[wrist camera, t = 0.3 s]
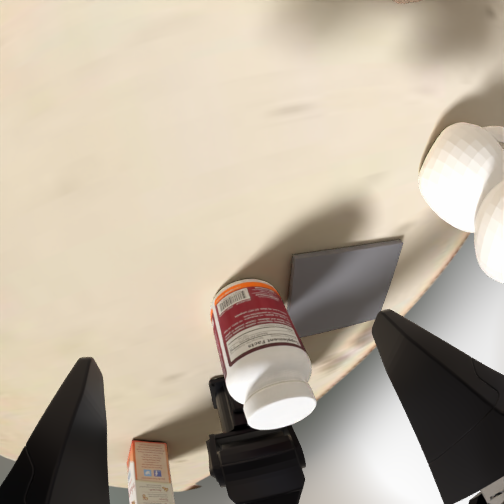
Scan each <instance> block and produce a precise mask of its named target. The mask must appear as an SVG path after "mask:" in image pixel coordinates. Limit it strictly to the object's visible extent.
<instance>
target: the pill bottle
mask: <svg viewBox="0 0 504 504" xmlns="http://www.w3.org/2000/svg"><path fill="white" fill-rule="evenodd" d="M210 315H211V322H212V326H213V331H214V335H215V340H216V344H217V349H218V353H219V357H220V361H221V366H222V370H223V374H224V378H225V383H226V386H227V389H228V392H229V394H230V395H231V396H232V397H233V398H234V399H235V400H236V401H237V402H239V403H241V404H244V407H243V410H244V413H245V416H246V419H247V423H248V425H249V426H250V427H252V428H254V429H259V430H270V429H277V428H281V427H285V426H288V425H291V424H294V423H296V422H297V421H300V420H302V419H303V418H305V417H306V416H308V415H309V414H310V413H311V412H312V411H313V410H314V408H315V406H316V399H315V396H314V394H313V391H312V388H311V387H310V385H309V384H308V383H307V382H308V380H309V378H310V376H311V372H312V365H311V361H310V359H309V356H308V354H307V352H306V350H305V348H304V346H303V344H302V342H301V339H300V337H299V335H298V333H297V331H296V329H295V327H294V325H293V323H292V320H291V318H290V316H289V314H288V312H287V310H286V308H285V306H284V304H283V301H282V299H281V297H280V295H279V294H278V292H277V290H276V289H275V288H274V287H273V286H272V285H271V284H269V283H267V282H265V281H262V280H258V279H244V280H240V281H236V282H233V283H231V284H229V285H227V286H225V287H224V288H223V289H221V290H220V291H219V292H218V293H217V295H216V296H215V298H214V299H213V301H212V304H211V308H210Z"/></svg>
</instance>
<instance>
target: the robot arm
mask: <svg viewBox="0 0 504 504" xmlns="http://www.w3.org/2000/svg"><path fill="white" fill-rule="evenodd" d="M372 335H373V338H374V340H375V343H376V346H377V348H378V350H379V353H380V356H381V359H382V362H383V364H384V367H385V369H386V372H387V374H388V376H389V378H390V380H391V382H392V384H393V387H394V389H395V391H396V393H397V395H398V397H399V399H400V401H401V403H402V406H403V408H404V410H405V412H406V414H407V416H408V419H409V421H410V423H411V425H412V427H413V430H414V432H415V434H416V436H417V438H418V441H419V443H420V445H421V448H422V450H423V452H424V455H425V457H426V460H427V462H428V464H429V467H430V469H431V472H432V474H433V477H434V479H435V482H436V484H437V487H438V489H439V492H440V494H441V497H442V500H443V502H444V504H454V503H456V502H458V501H460V500H462V499H464V498H466V497H468V496H470V495H472V494H474V493H476V492H478V491H479V490H480V491H481V492H479V493H478V494H477V495H476V496H475V497H473V498H472V499H471V500H470V501H469V504H504V375H502V374H501V373H499V372H497V371H495V370H493V369H491V368H489V367H487V366H485V365H484V364H482V363H480V362H479V361H477V360H475V359H474V358H471V357H470V356H469V355H467V354H465V353H464V352H462V351H460V350H459V349H457V348H455V347H453V346H452V345H450V344H449V343H447V342H445V341H443V340H442V339H440V338H438V337H437V336H435V335H433V334H432V333H430V332H428V331H427V330H425V329H423V328H421V327H420V326H418V325H416V324H415V323H413V322H411V321H410V320H408V319H406V318H404V317H403V316H401V315H399V314H398V313H396V312H394V311H392V310H390V309H387V310H383V311H380V312H378V314H377V316H376V319H375V322H374V324H373V327H372ZM209 387H210V391H211V396H212V401H213V406H214V408H215V409H218V413H219V418H220V422H221V427H222V431H223V433H221V434H215V435H214V434H211V435H209V437H210V439H209V440H208V441H206V444H207V449H208V454H209V470H210V475H211V476H212V477H214V478H216V480H217V482H219V484H220V486H221V487H226V488H227V492H228V496H229V498H230V499H231V500H232V501H233V502H234V503H235V504H298V503H299V499H300V495H301V492H302V489H303V486H304V482H305V478H304V474H303V471H302V468H305V467H306V463H305V458H304V454H303V451H302V448H301V445H300V443H299V441H298V439H297V437H296V434H295V432H294V430H293V428H292V425H288V426H285V427H281V428H277V429H270V430H259V429H254V428H252V427H250V426H249V425H248V423H247V419H246V416H245V413H244V410H243V407H244V404H241V403H239V402H237V401H236V400H235V399H234V398H233V397H232V396H231V395H230V394H229V392H228V389H227V386H226V383H225V378H221V379H215V380H211V381H209ZM0 504H110V500H109V486H108V466H107V421H106V410H105V398H104V384H103V376H102V373H101V371H100V369H99V368H98V366H97V364H96V362H95V360H94V359H93V358H92V357H82V358H79V359H78V361H77V362H76V364H75V365H74V367H73V368H72V370H71V371H70V373H69V374H68V376H67V377H66V379H65V380H64V382H63V384H62V385H61V387H60V388H59V390H58V391H57V393H56V395H55V396H54V398H53V399H52V401H51V403H50V404H49V406H48V407H47V409H46V411H45V412H44V414H43V416H42V417H41V419H40V421H39V422H38V424H37V426H36V427H35V429H34V431H33V433H32V434H31V436H30V438H29V440H28V441H27V443H26V446H25V447H24V448H23V450H22V452H21V454H20V455H19V457H18V459H17V461H16V462H15V464H14V466H13V468H12V469H11V471H10V472H9V474H8V476H7V477H6V479H5V480H4V481H3V483H2V485H1V486H0Z"/></svg>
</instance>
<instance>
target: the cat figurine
mask: <svg viewBox="0 0 504 504" xmlns="http://www.w3.org/2000/svg"><path fill="white" fill-rule="evenodd" d="M498 142H504V127H503V126H486V127H480V126H478V125H475V124H470V123H466V122H459V123H456V124H453V125H450V126H448V127H447V128H446V129H444V130H443V131H442V132H441V134H440V135H439V136H438V138H437V139H436V141H435V143H434V144H433V146H432V147H431V149H430V151H429V153H428V155H427V157H426V158H425V161H424V163H423V165H422V167H421V170H420V173H419V180H418V184H419V188H420V191H421V194H422V196H423V198H424V199H425V201H426V202H427V204H428V205H429V206H430V208H431V209H432V210H433V211H434V212H435V213H436V214H437V215H438V216H439V217H440V218H442V219H443V220H444V221H446V222H447V223H448V224H450V225H452V226H453V227H455V228H457V229H460V230H462V231H465V232H471V233H475V234H474V244H475V251H476V257H477V260H478V263H479V265H480V267H481V269H482V270H483V271H484V272H485V273H486V274H487V275H488V276H489V277H490V278H492V279H494V280H496V281H498V282H501V283H504V149H503V148H502V147H501V146H500V144H499V143H498Z"/></svg>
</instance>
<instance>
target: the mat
mask: <svg viewBox="0 0 504 504" xmlns="http://www.w3.org/2000/svg"><path fill="white" fill-rule="evenodd" d="M402 245H403V242H402V241H401V240H400V239H399V240H392V241H386V242H379V243H372V244H365V245H358V246H352V247H345V248H338V249H331V250H324V251H317V252H310V253H303V254H296V255H293V258H292V268H291V278H290V288H289V297H288V307H287V312H288V314H289V316H290V318H291V320H292V323H293V325H294V327H295V329H296V331H297V333H298V335H299V337H300V338H301V337H306V336H310V335H314V334H319V333H323V332H327V331H331V330H335V329H339V328H343V327H347V326H351V325H355V324H359V323H363V322H366V321H370V320H374V319H376V316H377V314H378V312H380V311H381V309H382V306H383V304H384V301H385V298H386V295H387V292H388V289H389V286H390V284H391V281H392V278H393V274H394V271H395V268H396V265H397V262H398V259H399V255H400V252H401V249H402Z"/></svg>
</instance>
